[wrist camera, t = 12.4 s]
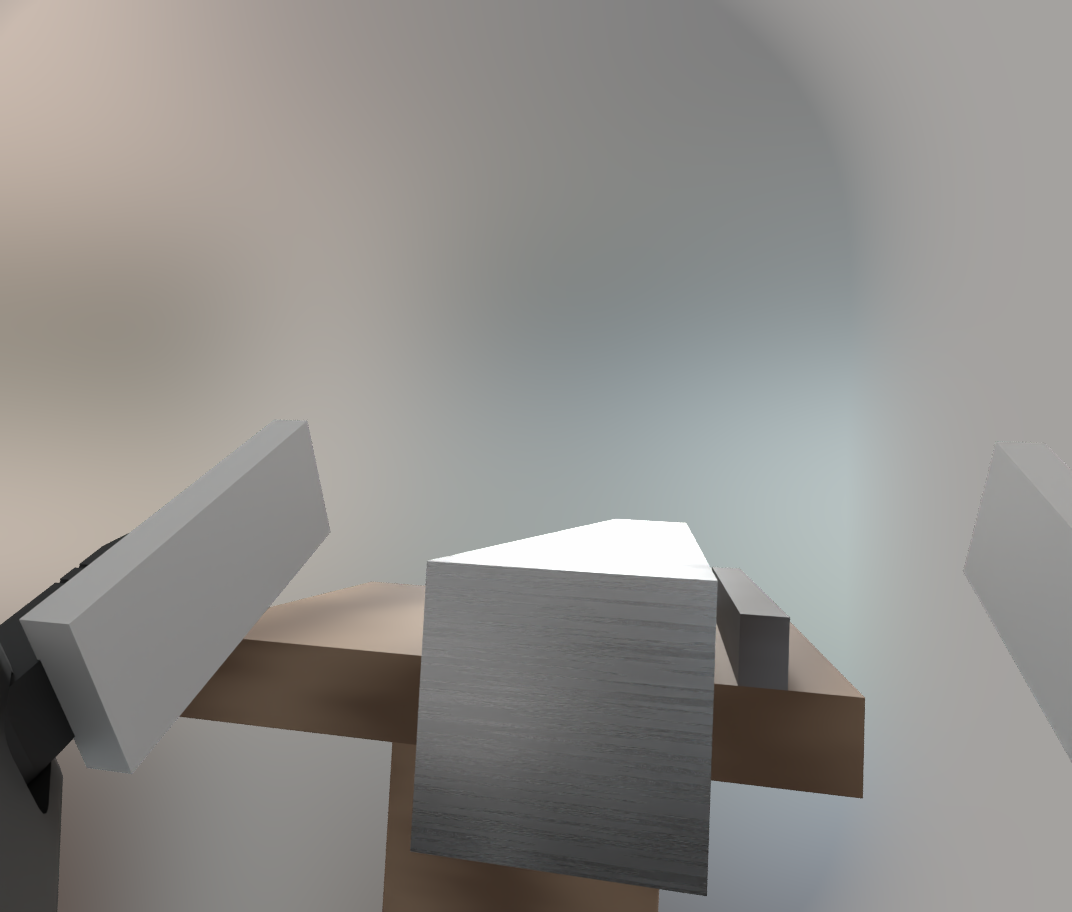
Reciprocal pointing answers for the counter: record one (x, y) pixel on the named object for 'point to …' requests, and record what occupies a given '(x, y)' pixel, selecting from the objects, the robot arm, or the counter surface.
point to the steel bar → (570, 706)
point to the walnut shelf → (392, 715)
